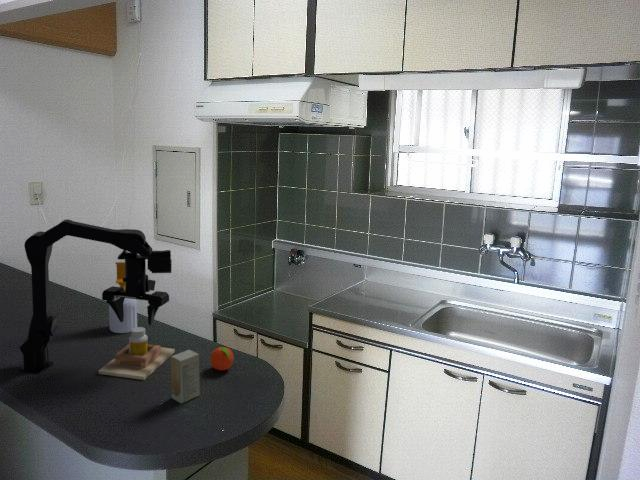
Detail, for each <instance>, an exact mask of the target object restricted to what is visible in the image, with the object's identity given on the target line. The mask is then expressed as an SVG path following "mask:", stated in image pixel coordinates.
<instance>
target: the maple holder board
mask: <svg viewBox="0 0 640 480" xmlns="http://www.w3.org/2000/svg"><path fill="white" fill-rule="evenodd" d="M175 352H176V351H175V348H170V347H169V348H168V347H162V346H161V345H157V344H150V343H148V352H147V353H146V354H145V355H144V356H141V355H134V354H129V344H127V345H126V346H124V347H123V348H122V349H121V350H119V351H118V352H117V353H115V354H114V358H113V359H112V360H110V361H109V362H108V363H107V364H105V365H104V366H103V367H102V368H100V369H98V371H97V372H98V375H105V376H112V377H117V378H118V377H119V378H127V379H135V380H140V381H141V380H143V381H144V380H146V379H147V378H148V377H149V376H150V375H151V374H152V373H153V372H155V371H156V370H157V369H158V368H159V367H160V366H161V365H162V364H163V363H164V362H165V361H166V360H168V358H171V356H173V355H174V353H175Z"/></svg>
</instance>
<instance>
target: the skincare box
mask: <svg viewBox="0 0 640 480" xmlns="http://www.w3.org/2000/svg"><path fill="white" fill-rule="evenodd" d="M170 374H171V375H170V376H171V377H170V381H171V399H172V400H173V401H176V402H177V403H178V404H183V403H186V402H188V401H190V400H192V399H194V398H197V397H198V396H200V354H199V353H198V352H196V351H193V350H192V349H186V350H184V351H181V352H178V353H176V354H172V355H171V356H170Z"/></svg>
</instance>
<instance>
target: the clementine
mask: <svg viewBox="0 0 640 480" xmlns="http://www.w3.org/2000/svg"><path fill="white" fill-rule="evenodd" d="M233 353H234V352H233V351H232V350H231V349H230V348H229V347H226V346H220V347H217V348H214V350H213V351H212V352H211V354H210V359H209V360H210V364H211V366H212V367H213V368H214V369H215V370H217V371H222V370H223V371H226V370H228V369H229V368H231V366H232V365H233V363H234V357H235V356H234V354H233Z"/></svg>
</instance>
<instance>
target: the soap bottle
mask: <svg viewBox="0 0 640 480" xmlns="http://www.w3.org/2000/svg"><path fill="white" fill-rule="evenodd" d="M115 265H116V280H115V284H118V285H119V287H123V289H124V291H125V282H123V278H124V277H125V261H123V262H122V261H120V262H119V261H118V262H115ZM123 310H124V320H123V322H120V320H119V319H118V317H117V315H116V313H115V312H114V310H113V309H112V307H111V306H110V305H109V304H108V315H109V320H108V321H109V331H110V332H112V333H115V334H128V333H131V330H132V329H133V328H136V327H138V301H137V299H129V298H125V299H124V302H123Z"/></svg>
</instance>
